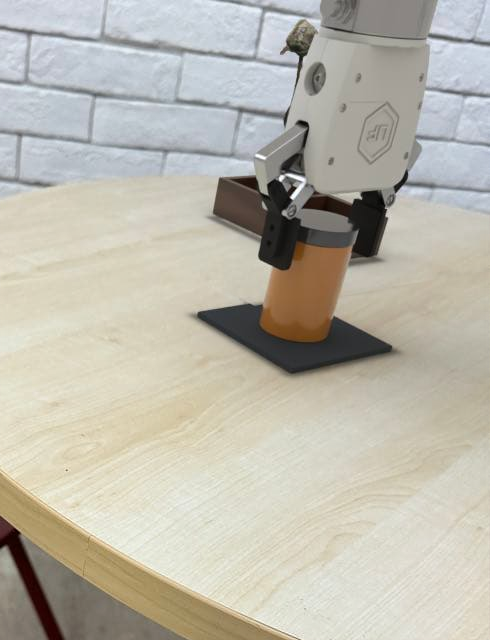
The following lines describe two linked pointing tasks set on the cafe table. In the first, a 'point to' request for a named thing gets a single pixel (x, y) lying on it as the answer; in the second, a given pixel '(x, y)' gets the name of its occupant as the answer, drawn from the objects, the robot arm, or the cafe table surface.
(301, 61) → the plant with pod
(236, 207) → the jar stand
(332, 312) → the jar
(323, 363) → the coaster
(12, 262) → the cafe table surface
